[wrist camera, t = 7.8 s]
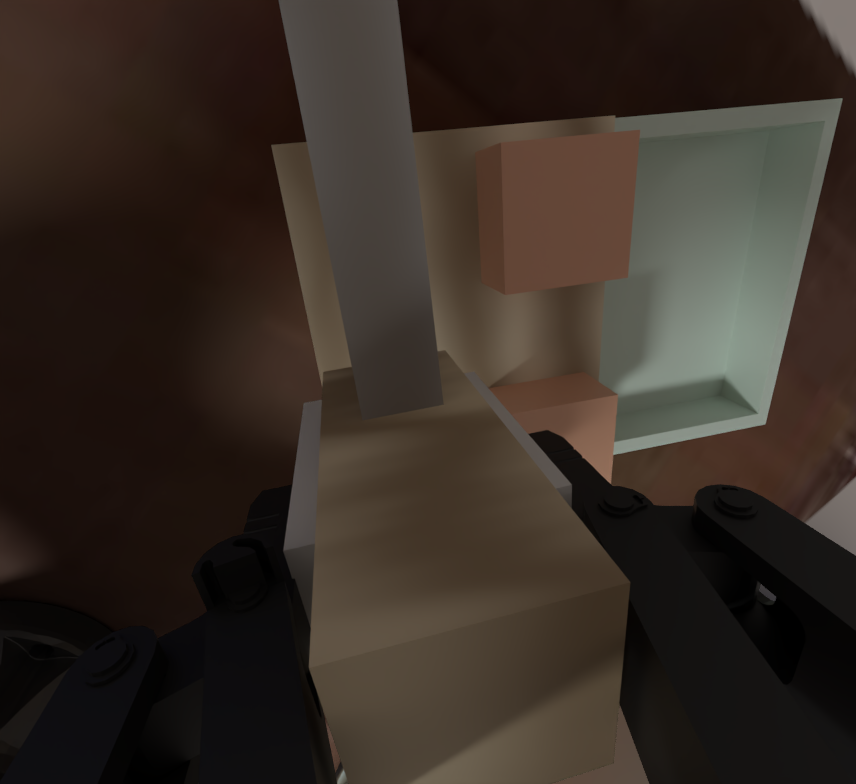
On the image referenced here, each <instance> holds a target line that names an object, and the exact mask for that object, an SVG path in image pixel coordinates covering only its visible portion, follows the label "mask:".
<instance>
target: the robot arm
mask: <svg viewBox="0 0 856 784" xmlns="http://www.w3.org/2000/svg"><path fill="white" fill-rule="evenodd" d="M464 374H465V376H466V377H467V378H468V379H469V381H470V382H471V383H472V384H473V386H474V387H475V388H476V389H477V391H478V392H479V393H480V394H481V396H482V397H483V398H484V399H485V401H486V402H487V403H488V404H489V406H490V407H491V408H492V409H493V411H494V412H495V413H496V414H497V416H498V417H499V418H500V419H501V421H502V422H503V423H504V424H505V426H506V427H507V428H508V429H509V431H510V432H511V433H512V434H513V436H514V437H515V438H516V439H517V441H518V442H519V443H520V444H521V446H522V447H523V448H524V449H525V451H526V452H527V453H528V454H529V456H530V457H531V458H532V460H533V461H534V462H535V463H536V465H537V466H538V467H539V468H540V470H541V471H542V472H543V473H544V475H545V476H546V477H547V478H548V480H549V481H550V482H551V483H552V485H553V486H554V487H555V488H556V490H557V491H558V492H559V493H560V495H561V496H562V497H563V498H564V500H565V501H566V502H567V503H568V505H569V506H570V507H571V508H572V510H573V511H574V512H575V513H576V515H577V516H578V517H579V518H580V520H581V521H582V522H583V523H584V525H585V526H586V527H587V528H588V530H589V531H590V532H591V533H592V535H593V536H594V537H595V538H596V540H597V541H598V542H599V543H600V545H601V546H602V547H603V549H604V550H605V551H606V552H607V554H608V555H609V556H610V557H611V559H612V560H613V561H614V562H615V564H616V565H617V566H618V567H619V569H620V570H621V571H622V572H623V574H624V575H625V576H626V577H627V579H628V580H629V581H630V592H629V602H628V613H627V624H626V635H625V646H624V657H623V668H622V679H621V689H620V700H619V703H620V706H621V709H622V711H623V714H624V717H625V719H626V722H627V725H628V727H629V730H630V732H631V736H632V738H633V740H634V744H635V746H636V749H637V751H638V754H639V757H640V760H641V762H642V765H643V768H644V770H645V773H646V776H647V778H648V781H649V784H856V556H855V555H854V554H852V553H850V552H849V551H847V550H845V549H844V548H843V547H841V546H839V545H838V544H836V543H835V542H833V541H832V540H830V539H828V538H827V537H825V536H824V535H822V534H821V533H819V532H817V531H816V530H814V529H813V528H811V527H810V526H808V525H807V524H805V523H803V522H802V521H800V520H799V519H797V518H796V517H794V516H792V515H791V514H789V513H788V512H786V511H785V510H783V509H782V508H780V507H778V506H777V505H775V504H774V503H772V502H771V501H769V500H767V499H766V498H764V497H762V496H760V495H758V494H756V493H754V492H752V491H750V490H747V489H744V488H740V487H737V486H731V485H711V486H706V487H704V488H702V489H700V490H698V492H697V494H696V496H695V499H694V505H693V506H657V505H653V503H652V502H651V501H650V500H649V499H648V498H646V497H645V496H644V495H643V494H641V493H639V492H637V491H635V490H633V489H629V488H624V487H620V486H612V485H611V484H610V483H609V482H608V481H607V480H606V479H605V478H604V477H603V476H602V475H601V474H600V473H599V472H598V471H597V470H596V469H595V468H594V467H593V466H592V465H591V464H590V463H589V462H588V461H587V460H586V459H585V458H582V455H581V454H580V453H579V452H578V451H577V450H576V449H575V450H574V447H573V446H572V445H571V444H570V443H569V442H568V441H567V440H566V439H565V438H564V437H562V436H560V435H557V434H555V433H553V432H551V431H549V430H544V431H539V432H535V433H530V434H528V433H527V432H526V431H525V430H524V429H523V428H522V426H521V425H520V424H519V423H518V422H517V421H516V420H515V418H514V417H513V416H512V415H511V414H510V413H509V411H508V410H507V409H506V408H505V407H504V406H503V405H502V403H501V402H500V401H499V400H498V399H497V398H496V396H495V395H494V394H493V393H492V392H491V391H490V390H489V388H488V387H487V386H486V385H485V384H484V383H483V381H482V380H481V379H480V378H479V377H478V376H477V374H476V373H475V372H469V373H464ZM321 407H322V400H318V401H313V402H308V403H304V406H303V413H302V420H301V427H300V434H299V442H298V449H297V456H296V463H295V470H294V477H293V485H288V486H283V487H279V488H274V489H269V490H264V491H262V492H261V493H260V495H259V496H258V497H257V498H256V499H255V501H254V502H253V503H252V504H251V506H250V510H249V514H248V517H247V523H246V525H245V528H244V534H242V535H238V536H234V537H231V538H229V539H227V540H225V541H222V542H220V543H218V544H217V545H215V546H214V547H213V548H211V549H210V550H208V551H207V552H206V553H205V554H204V555H203V556H202V557H201V558H200V560H199V561H198V562H197V563H196V565H195V567H194V570H193V573H192V577H193V580H194V582H195V584H196V586H197V589H198V591H199V593H200V595H201V598H202V600H203V602H204V604H205V606H206V609H207V612H206V613H204V614H203V615H202V616H200V617H199V618H197V619H195V620H193V621H192V622H190V623H188V624H186V625H184V626H182V627H180V628H178V629H176V630H174V631H172V632H170V633H168V634H166V635H164V636H162V637H160V638H157V636H156V635H155V633H154V631H153V630H151V629H149V628H147V627H145V626H134V627H127V628H124V629H121V630H119V631H116V632H112V631H110V630H109V629H108V628H106V627H105V626H103V625H102V624H100V623H98V622H97V621H95V620H93V619H91V618H89V617H86V616H84V615H82V614H79V613H77V612H74V611H71V610H68V609H64V608H61V607H57V606H52V605H48V604H42V603H35V602H24V601H0V784H337V779H336V774H335V769H334V764H333V759H332V754H331V748H330V743H329V738H328V733H327V728H326V723H325V718H324V713H323V708H322V705H321V702H320V699H319V696H318V693H317V690H316V687H315V685H314V682H313V679H312V676H311V673H310V670H309V655H310V634H311V613H312V593H313V572H314V551H315V531H316V510H317V489H318V469H319V448H320V428H321ZM761 584H762V585H763V586H764V587H765V588H767V589H768V590H769V591H770V592H771V593H773V594H774V595H775V596H776V601H772V600H770V599H768V598H767V597H765V596H764V595H763V594H762V593H761V592H759V588H760V585H761Z"/></svg>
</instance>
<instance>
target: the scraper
mask: <svg viewBox="0 0 856 784" xmlns="http://www.w3.org/2000/svg"><path fill="white" fill-rule="evenodd" d="M278 1H279V6H280V11H281V16H282V21H283V25H284V30H285V35H286V40H287V45H288V50H289V55H290V60H291V65H292V70H293V75H294V80H295V85H296V90H297V95H298V100H299V105H300V110H301V115H302V120H303V125H304V130H305V135H306V140H307V145H308V150H309V155H310V160H311V165H312V170H313V175H314V180H315V185H316V190H317V195H318V200H319V205H320V210H321V215H322V220H323V225H324V230H325V235H326V240H327V245H328V250H329V255H330V260H331V265H332V270H333V275H334V280H335V285H336V290H337V295H338V300H339V305H340V310H341V315H342V320H343V325H344V330H345V335H346V340H347V345H348V350H349V355H350V360H351V365H352V367H347V368H342V369H336V370H330V371H325V372H323V386H322V407H321V428H320V448H319V469H318V489H317V510H316V531H315V551H314V572H313V593H312V613H311V634H310V655H309V670H310V673H311V676H312V679H313V682H314V685H315V687H316V690H317V693H318V696H319V699H320V702H321V705H322V708H323V711H324V714H325V717H326V719H327V722H328V725H329V728H330V731H331V734H332V737H333V740H334V743H335V746H336V749H337V751H338V754H339V757H340V760H341V763H342V766H343V769H344V772H345V775H346V778H347V781H348V784H552V783H555V782H558V781H561V780H564V779H567V778H570V777H573V776H577V775H580V774H583V773H586V772H589V771H592V770H595V769H598V768H601V767H604V766H607V765H610V764H613V763H614V754H615V742H616V732H617V722H618V711H619V700H620V689H621V679H622V668H623V657H624V646H625V635H626V624H627V613H628V602H629V592H630V581H629V580H628V579H627V577H626V576H625V575H624V574H623V572H622V571H621V570H620V569H619V567H618V566H617V565H616V564H615V562H614V561H613V560H612V559H611V557H610V556H609V555H608V554H607V552H606V551H605V550H604V549H603V547H602V546H601V545H600V543H599V542H598V541H597V540H596V538H595V537H594V536H593V535H592V533H591V532H590V531H589V530H588V528H587V527H586V526H585V525H584V523H583V522H582V521H581V520H580V518H579V517H578V516H577V515H576V513H575V512H574V511H573V510H572V508H571V507H570V506H569V505H568V503H567V502H566V501H565V500H564V498H563V497H562V496H561V495H560V493H559V492H558V491H557V490H556V488H555V487H554V486H553V485H552V483H551V482H550V481H549V480H548V478H547V477H546V476H545V475H544V473H543V472H542V471H541V470H540V468H539V467H538V466H537V465H536V463H535V462H534V461H533V460H532V458H531V457H530V456H529V454H528V453H527V452H526V451H525V449H524V448H523V447H522V446H521V444H520V443H519V442H518V441H517V439H516V438H515V437H514V436H513V434H512V433H511V432H510V431H509V429H508V428H507V427H506V426H505V424H504V423H503V422H502V421H501V419H500V418H499V417H498V416H497V414H496V413H495V412H494V411H493V409H492V408H491V407H490V406H489V404H488V403H487V402H486V401H485V399H484V398H483V397H482V396H481V394H480V393H479V392H478V391H477V389H476V388H475V387H474V386H473V384H472V383H471V382H470V381H469V379H468V378H467V377H466V376H465V374H464V373H463V372H462V371H461V369H460V368H459V367H458V366H457V364H456V363H455V362H454V360H453V359H452V358H451V357H450V355H449V354H448V353H447V352H446V350H443V351H437V342H436V334H435V325H434V316H433V307H432V299H431V290H430V281H429V272H428V264H427V255H426V246H425V238H424V229H423V220H422V211H421V203H420V194H419V185H418V176H417V168H416V159H415V150H414V141H413V133H412V124H411V115H410V106H409V98H408V89H407V80H406V72H405V63H404V54H403V45H402V37H401V28H400V19H399V10H398V2H397V0H278Z"/></svg>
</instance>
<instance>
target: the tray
mask: <svg viewBox="0 0 856 784" xmlns="http://www.w3.org/2000/svg"><path fill="white" fill-rule="evenodd" d="M842 99H843V98H839V99H827V100H816V101H804V102H793V103H781V104H770V105H758V106H747V107H735V108H724V109H713V110H701V111H690V112H678V113H667V114H655V115H644V116H632V117H621V118H615V130H614V132H620V131H631V130H640V138H639V150H638V162H637V174H636V186H635V198H634V210H633V222H632V234H631V246H630V258H629V270H628V278H622V279H615V280H608V281H605V289H604V305H603V321H602V337H601V353H600V369H599V382H600V383H601V384H603V385H604V386H606V387H607V388H609V389H610V390H612V391H613V392H615V393H616V394H618V403H617V415H616V427H615V439H614V451H613V455H615V454H620V453H625V452H630V451H635V450H640V449H645V448H650V447H655V446H660V445H665V444H670V443H675V442H679V441H684V440H689V439H694V438H699V437H704V436H709V435H714V434H719V433H724V432H729V431H734V430H739V429H744V428H749V427H754V426H759V425H764V424H766V419H767V415H768V411H769V407H770V403H771V398H772V394H773V390H774V386H775V382H776V377H777V373H778V369H779V365H780V361H781V356H782V352H783V348H784V344H785V339H786V335H787V331H788V327H789V323H790V318H791V314H792V310H793V306H794V302H795V297H796V293H797V289H798V285H799V280H800V276H801V272H802V268H803V264H804V259H805V255H806V251H807V247H808V243H809V238H810V234H811V230H812V226H813V221H814V217H815V213H816V209H817V205H818V200H819V196H820V192H821V188H822V184H823V179H824V175H825V171H826V167H827V163H828V158H829V154H830V150H831V146H832V141H833V137H834V133H835V129H836V125H837V120H838V116H839V112H840V108H841V104H842Z"/></svg>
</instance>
